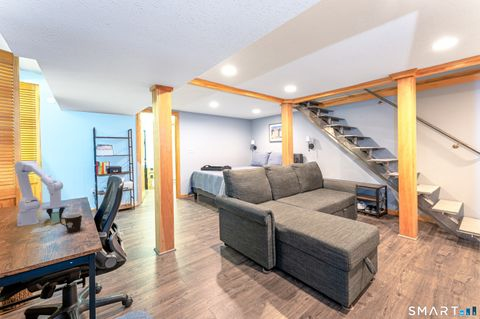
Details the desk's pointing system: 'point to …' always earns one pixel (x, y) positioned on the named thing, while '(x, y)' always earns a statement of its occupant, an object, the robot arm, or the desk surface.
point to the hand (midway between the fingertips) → (56, 218)
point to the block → (55, 217)
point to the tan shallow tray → (49, 222)
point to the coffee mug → (72, 223)
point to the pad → (41, 229)
